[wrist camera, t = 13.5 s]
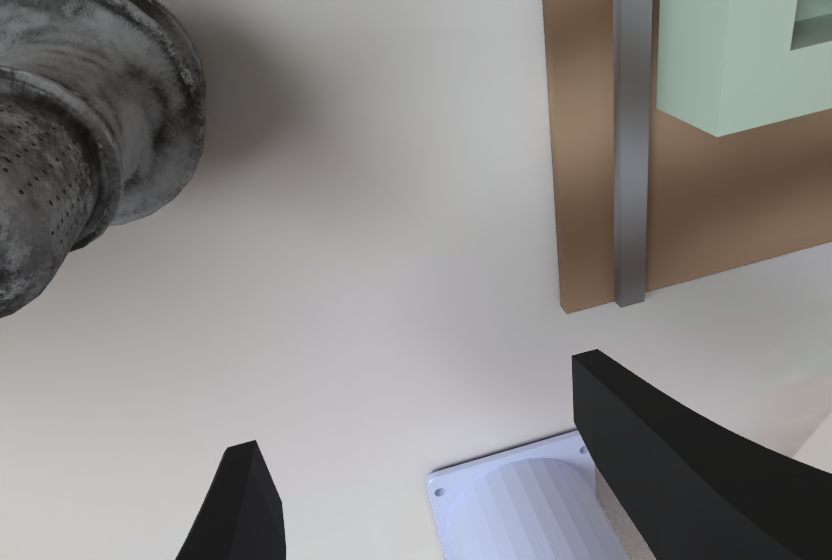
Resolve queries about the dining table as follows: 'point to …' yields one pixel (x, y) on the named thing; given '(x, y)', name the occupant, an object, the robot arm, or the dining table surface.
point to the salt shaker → (88, 127)
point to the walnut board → (663, 167)
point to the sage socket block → (743, 61)
